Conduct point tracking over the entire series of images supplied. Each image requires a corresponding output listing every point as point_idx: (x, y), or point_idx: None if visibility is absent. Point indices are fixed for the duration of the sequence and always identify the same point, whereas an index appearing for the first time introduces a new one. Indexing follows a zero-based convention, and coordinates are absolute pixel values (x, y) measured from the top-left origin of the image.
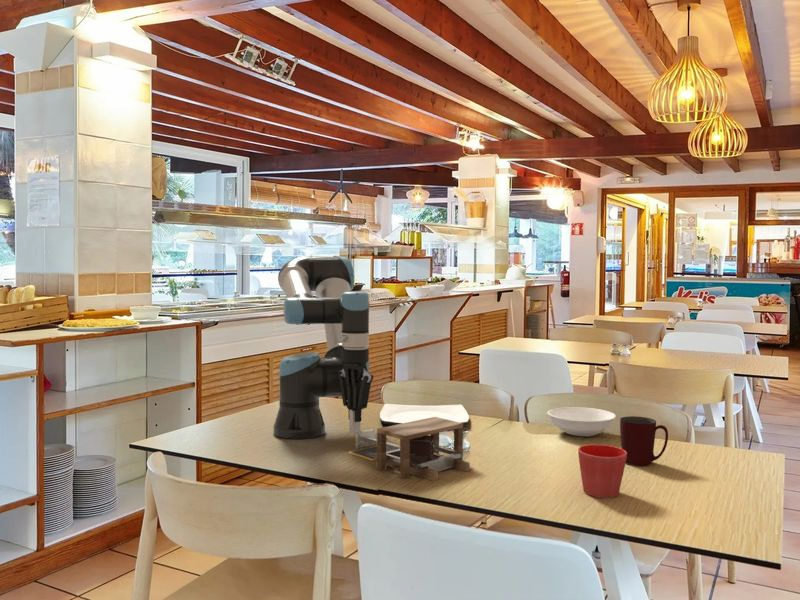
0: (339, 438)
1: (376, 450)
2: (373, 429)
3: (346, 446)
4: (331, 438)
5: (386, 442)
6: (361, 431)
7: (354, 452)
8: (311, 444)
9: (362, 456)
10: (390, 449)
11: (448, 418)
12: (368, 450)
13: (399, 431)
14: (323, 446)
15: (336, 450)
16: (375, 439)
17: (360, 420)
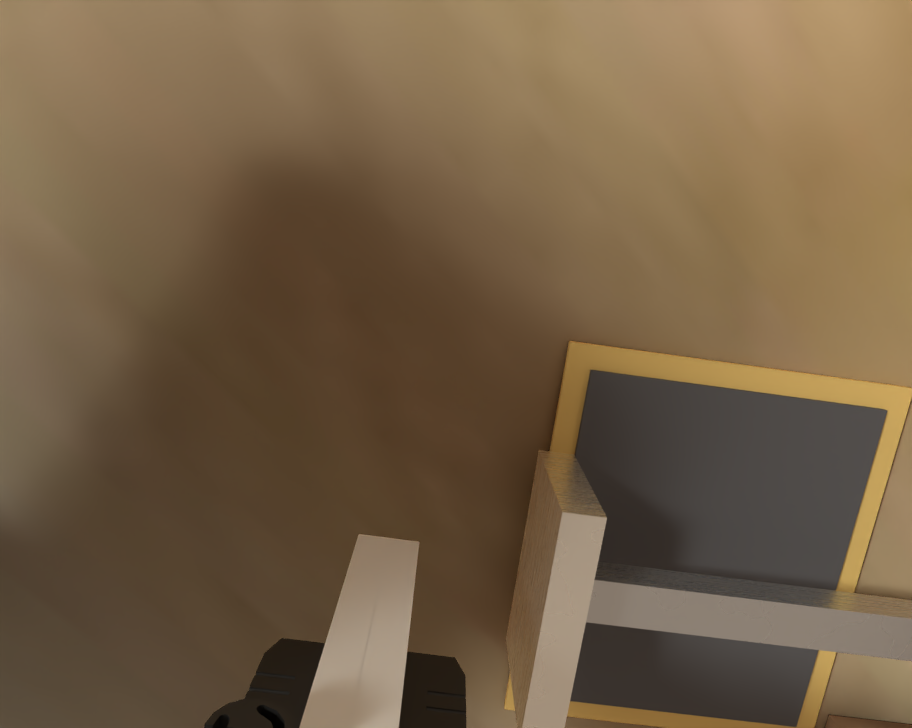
0: (73, 409)
1: (678, 545)
2: (591, 523)
3: (344, 571)
4: (19, 459)
5: (873, 625)
6: (543, 677)
7: None
8: (73, 709)
9: (684, 726)
10: (761, 439)
11: None
12: None
13: None
14: (198, 691)
15: None
16: (711, 611)
17: (459, 680)
